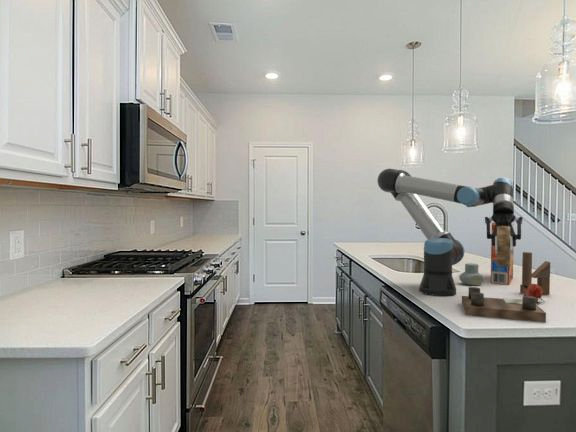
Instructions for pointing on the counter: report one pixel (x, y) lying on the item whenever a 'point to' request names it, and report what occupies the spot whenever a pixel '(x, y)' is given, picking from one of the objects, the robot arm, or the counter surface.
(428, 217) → the robot arm
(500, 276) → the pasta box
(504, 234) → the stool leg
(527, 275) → the brown wooden angled piece
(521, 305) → the wooden board with knobs
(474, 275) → the air freshener
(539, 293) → the pomegranate
